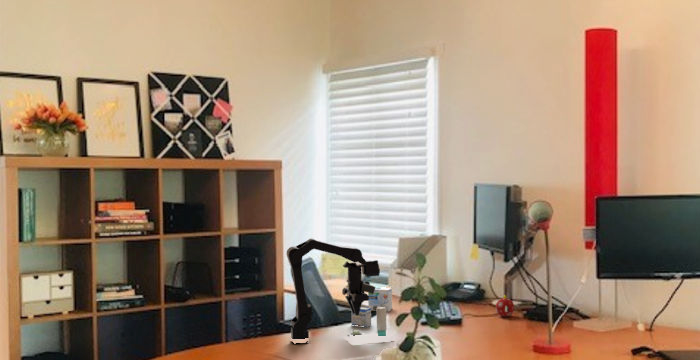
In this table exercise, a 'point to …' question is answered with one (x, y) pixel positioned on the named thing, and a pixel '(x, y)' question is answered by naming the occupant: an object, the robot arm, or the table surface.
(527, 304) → the table surface
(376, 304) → the light bulb box
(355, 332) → the button
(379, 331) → the beige teal tall box
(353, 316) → the medicine box
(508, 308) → the christmas ornament
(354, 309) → the robot arm
